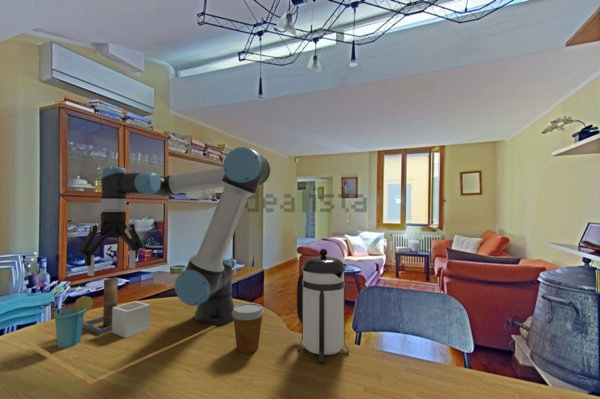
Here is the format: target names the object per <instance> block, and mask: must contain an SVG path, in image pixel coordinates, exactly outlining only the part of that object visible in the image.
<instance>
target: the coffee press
mask: <svg viewBox="0 0 600 399" xmlns="http://www.w3.org/2000/svg"><path fill="white" fill-rule="evenodd" d="M319 253H320V254H319V255H320V256H319V255H317V256H312V257H309V258H307V259H306V260H305V261H304V262H303V265H301V269H302V274H301V275H299V277H298V279H297V285H296V286H297V287H296V288H297V289H296V309H297V310H296V311H297V312H296V313H297V318H298V319H299V321H300V322H301V341H300V342H299V344H298V346H297V350H298V351H300V350H301V351H300V352H302V351H303V350H304V349H306V350H307V351H309V353H311V354H315V355H318V364H319V365H324V364H325V356H330V355H336V354H338V353H339V352H340V351H341V352H342V353H343V354H344V355H348V354H349V353H350V350H349V347H348V346H347V344H346V338H345V334H346V332H345V329H346V328H345V326H346V325H345V322H346V318H345V317H346V314H345V312H346V306H345V303H346V302H345V300H346V299H345V298H346V297H345V292H346V291H345V290H346V288H345V286H346V281H345V280H346V279H345V271H346V266H345V265H344V263H343V261H342V260H341V259H340V258H337V257H333V256H327V255H328V251H327V249H326V248H321V249H320V251H319ZM302 343H303V347H300V346H301V345H302ZM344 347H345V348H346V350H347V351H345V350H344V349H343V348H344Z"/></svg>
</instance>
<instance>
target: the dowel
mask: <svg viewBox="0 0 600 399" xmlns="http://www.w3.org/2000/svg"><path fill="white" fill-rule="evenodd" d="M118 282H119V281H118V278H108V279H105V280H104V281H103V309H102V310H103V313H102V314H103V316H102V317H103V322H102V327H103V328H106V327H109V326H112V309H113V307H116V306H118V289H119V288H118V284H119V283H118Z"/></svg>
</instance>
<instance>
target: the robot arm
mask: <svg viewBox="0 0 600 399" xmlns="http://www.w3.org/2000/svg"><path fill="white" fill-rule="evenodd" d="M222 164H223V166H221V167H215V168H208V169H202V170H195V171H189V172H183V173H182V172H181V173H176V174H171V175H164V176H163V175H162V176H161V175H160V176H159V175H157V173H155V172H148V171H147V172H146V171H143V172H127V171H128V170H127V169H126V167H119V166H105V167H103V168H102V170H101V178H100V182H101V183H100V185H101V197H100V210H101V211H102V212H100V225H99V226H98V225H90V226H89V232H88V234H87V236H86V237H85V239H84V240H83V242H82V244H81V246H80V247H79V250H78V251H77V254H78V255H82V256H84V266H86V267H87V276H90V277H93V276H95V256H96V255H93V254H94V253H95V252H96V250H98V248H100V246H101V245H102V244H103V242H105V241H106V240H107V239H111V238H113V239H114V238H120V239H122V240H123V242H124V243H126V245H127V246H128V247H129V248H130V249H131V250H130V249H129V250H128V269H132V270H133V269H136V260H137V259H138V251H139V250H140V249H142V248H143V247H144V245H143V243H142V241H141V239H140V237H139V235H138V233H137V231H136V227H135V224H134V223H128V224H126V222H127V212H126V210H127V195H145V196H147V195H149V196H150V195H151V196H159V197H171V196H175V195H176V194H182V193H190V192H191V193H192V192H197V191H204V190H210V189H217V188H218V189H219V188H223V189H222V192H221V194H220V197H219V199H218V202H217V204H216V207H215V209H214V212H213V214H212V216H211V219H210V222H209V224H208V226H207V229H206V232H205V234H204V237H203V239H202V241H201V244H200V246H199V249H198V251H197V253H196V254H194V255H192V256H190V258H189V260H188V264H187V265H186V268H185V270H182V271H181V272H180V273H179V274H178V275H177V277H176V278H175V281H174V291H175V294H176V295H177V296H176V297H177V298H178V299H179V300H180V301H181V302H182V303H184V305H187V306H190V307H191V306H194V307H195V306H197V307H196V311H195V312H194V320H195V321H196V322H197V323H200V324H208V325H212V324H213V325H212V326H213V327H217V326H223V325H225V324H228V323H231V322H234V318H233V315H232V312H233V309H234V307H235V304H234V301H233V296H232V291H233V290H232V288H233V287H232V285H233V260H232V259H231V258H230V257H225V256H226V254H227V251H228V248H229V246H230V244H231V241H232V239H233V236H234V234H235V231H236V229H237V226H238V224H239V221H240V220H241V217H242V214H243V212H244V210H245V207H246V204H247V202H248V200H249V198H251V197H252V196H254V195H255V194H256V193H257V189H258V187H259V186H262V185H263V184H264V183H266V182H267V181H268V180H269V177H270V176H271V175H270V174H271V166H270V162H269V161H268V160H267V159H266V158H265V157H264V156H263V155H261V154H260V153H259V152H258V151H256V150H255V149H253V148H250V147H247V146H239V147H236V148H234V149H232V150H230V151H229V152H228V153H227V154H226V156H225V157H224V160H223V163H222ZM126 230H127V231H128V233H129V235H130V236H128V234H127V233H126V232H125V231H126ZM99 231H100V232H101V233H100V234H99V235H98V237H97V238H96V239H95V237H96V236H97V233H99ZM130 237H131V238H130ZM94 239H95V241H94ZM93 241H94V242H93Z"/></svg>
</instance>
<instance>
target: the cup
mask: <svg viewBox="0 0 600 399" xmlns="http://www.w3.org/2000/svg"><path fill="white" fill-rule="evenodd" d="M94 303H95V301H94V300H93V298H92V297H91V296H87V295H83V296H81V297H79V298H77V299H76V300H75V302H74V304H73V306H72V307H68V308H67V307H66V308H63V309H60V306H59V304H58V302H57V301H54V300H51V301H50V302H47V303H44V304H42V305H41V306H39V307H38V308H39V309H40V310H42V309H45V308H47V307H49V306H52V305H53V306H54V308H55V312H53V317H54V319H55V321H54V322H55V334H56V345H57V348H58V349H66V348H70V347H74V346H77V345H78V344H79V343H81V339H82V332H83V327H82V325H83V322H84V317H85V314H86V312H88V311H91V309H92V308H93V305H94Z"/></svg>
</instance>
